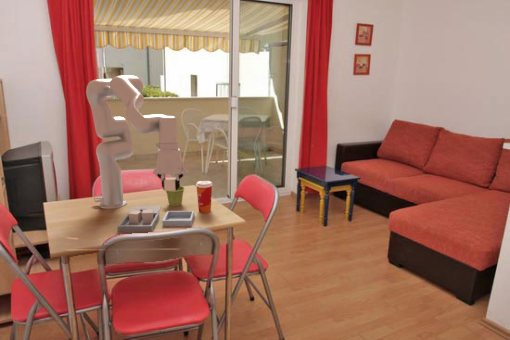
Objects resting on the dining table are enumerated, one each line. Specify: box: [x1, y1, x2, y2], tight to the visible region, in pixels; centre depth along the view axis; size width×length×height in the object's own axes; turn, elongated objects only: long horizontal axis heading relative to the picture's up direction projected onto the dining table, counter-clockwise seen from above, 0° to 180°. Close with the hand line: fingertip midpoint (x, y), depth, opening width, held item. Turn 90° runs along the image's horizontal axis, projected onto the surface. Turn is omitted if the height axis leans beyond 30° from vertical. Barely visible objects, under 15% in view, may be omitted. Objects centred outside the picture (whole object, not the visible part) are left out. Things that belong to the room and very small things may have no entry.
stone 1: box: [129, 211, 142, 223], centre depth 173 cm, size 4×4×4 cm
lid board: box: [124, 205, 162, 217], centre depth 185 cm, size 14×14×2 cm
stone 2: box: [142, 209, 154, 223], centre depth 173 cm, size 4×4×4 cm
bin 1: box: [117, 212, 160, 233], centre depth 170 cm, size 14×16×3 cm
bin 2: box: [161, 210, 195, 227], centre depth 174 cm, size 12×12×3 cm
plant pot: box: [165, 185, 185, 207], centre depth 196 cm, size 9×9×9 cm
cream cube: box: [163, 177, 176, 192], centre depth 169 cm, size 4×4×4 cm
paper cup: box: [195, 180, 213, 214], centre depth 187 cm, size 8×8×14 cm
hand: (171, 188), depth 169 cm, fingers closed on cream cube, 4 cm apart
